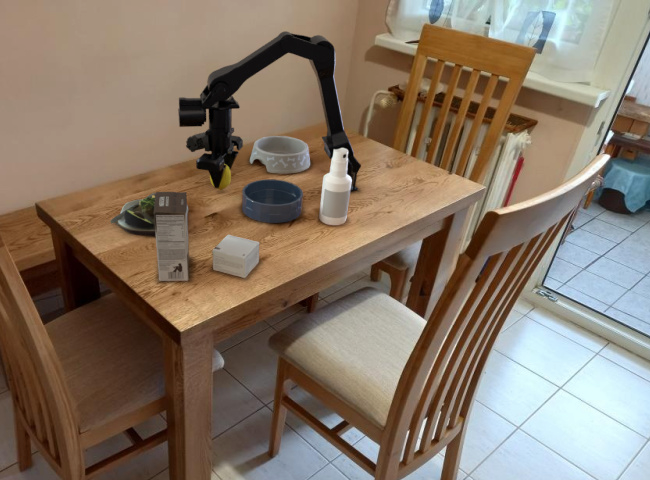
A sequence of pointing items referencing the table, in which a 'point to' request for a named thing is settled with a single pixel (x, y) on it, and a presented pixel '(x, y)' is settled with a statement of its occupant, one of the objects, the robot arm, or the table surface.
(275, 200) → the bowl
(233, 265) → the small box
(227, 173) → the lemon
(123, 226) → the salad plate
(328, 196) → the spray bottle
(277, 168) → the dog bowl
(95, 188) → the table surface
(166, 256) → the coffee box
